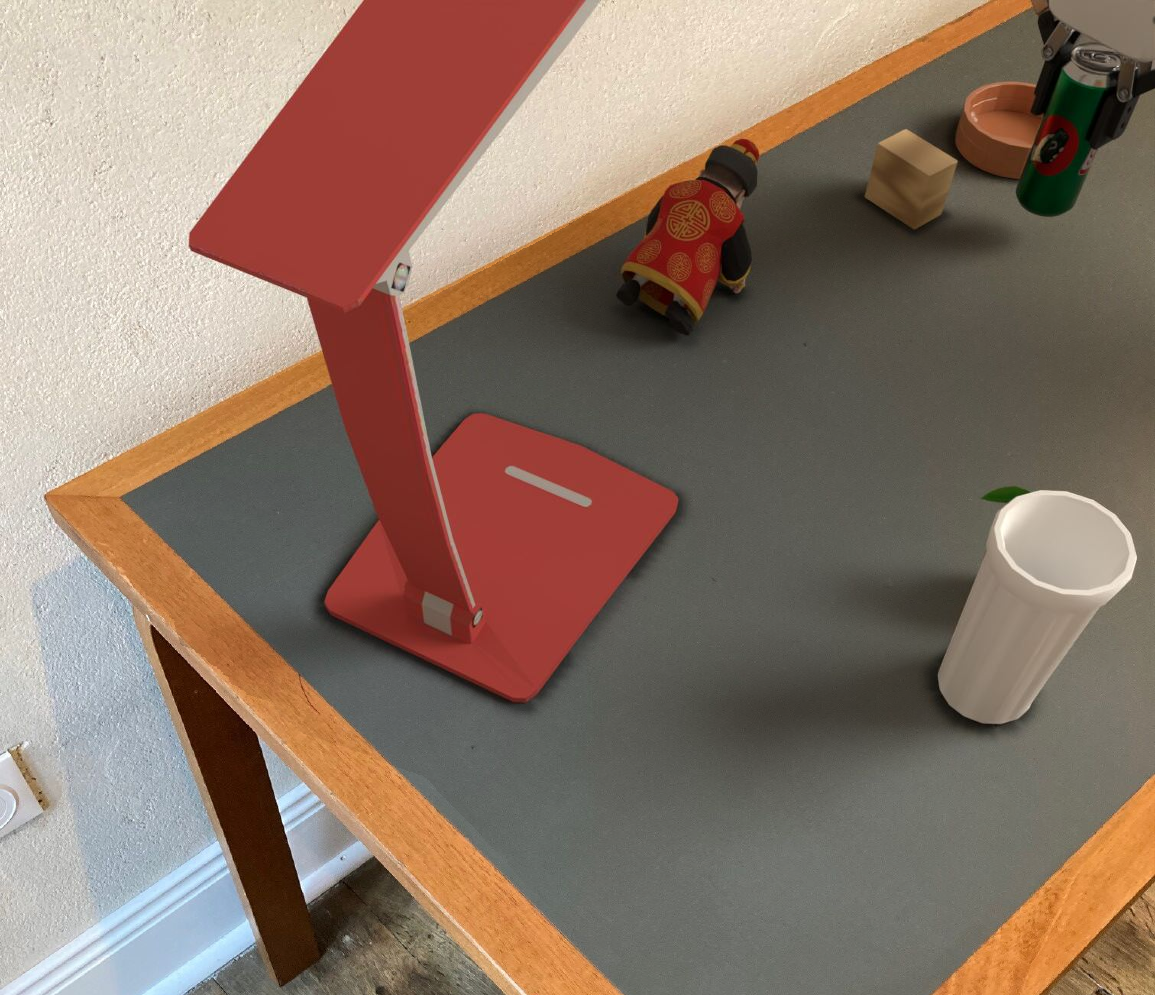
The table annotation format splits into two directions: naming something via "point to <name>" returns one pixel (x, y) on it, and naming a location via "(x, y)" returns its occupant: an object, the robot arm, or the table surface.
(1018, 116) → the terracotta bowl
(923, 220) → the wooden block
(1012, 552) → the cup
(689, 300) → the figurine
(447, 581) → the desk lamp
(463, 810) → the table surface
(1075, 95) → the soda can
